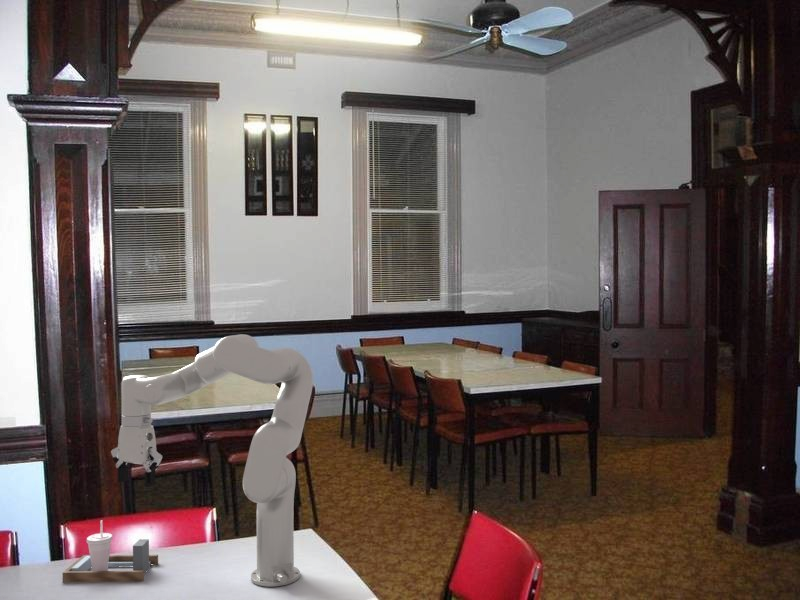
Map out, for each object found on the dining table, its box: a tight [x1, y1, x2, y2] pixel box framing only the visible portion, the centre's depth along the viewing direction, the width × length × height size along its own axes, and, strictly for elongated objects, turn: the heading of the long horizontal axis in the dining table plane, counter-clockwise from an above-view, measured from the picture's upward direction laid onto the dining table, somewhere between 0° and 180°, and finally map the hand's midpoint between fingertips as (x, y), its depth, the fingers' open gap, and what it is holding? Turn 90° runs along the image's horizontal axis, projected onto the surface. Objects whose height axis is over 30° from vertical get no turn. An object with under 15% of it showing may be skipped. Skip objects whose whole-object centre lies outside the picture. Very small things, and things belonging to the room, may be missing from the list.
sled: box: [72, 538, 152, 575], centre depth 193 cm, size 18×9×8 cm, turn 90°
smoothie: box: [86, 519, 113, 571], centre depth 193 cm, size 6×6×14 cm
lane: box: [62, 554, 159, 583], centre depth 193 cm, size 21×12×2 cm, turn 90°
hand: (136, 483), depth 197 cm, fingers open, 9 cm apart
